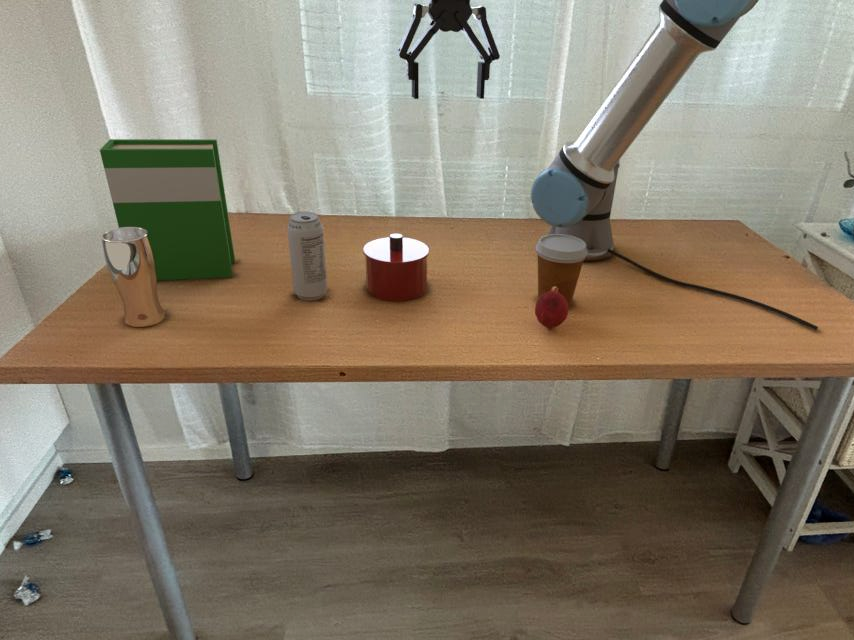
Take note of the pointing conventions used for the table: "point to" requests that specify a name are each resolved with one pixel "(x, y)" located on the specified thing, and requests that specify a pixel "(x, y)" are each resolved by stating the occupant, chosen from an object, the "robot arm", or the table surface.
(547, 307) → the onion
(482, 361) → the table surface
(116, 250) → the beer glass
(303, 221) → the energy drink can
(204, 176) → the hardback book
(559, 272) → the disposable coffee cup
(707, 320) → the table surface
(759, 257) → the table surface
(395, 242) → the pot lid
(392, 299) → the pot
